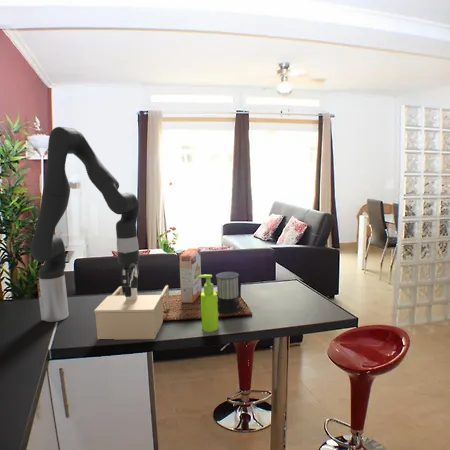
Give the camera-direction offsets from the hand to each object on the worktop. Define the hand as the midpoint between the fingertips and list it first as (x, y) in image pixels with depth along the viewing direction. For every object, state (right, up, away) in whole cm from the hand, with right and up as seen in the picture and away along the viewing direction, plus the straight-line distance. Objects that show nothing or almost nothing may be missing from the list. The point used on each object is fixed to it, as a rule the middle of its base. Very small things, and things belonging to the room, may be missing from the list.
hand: (131, 292), depth 144 cm
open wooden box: (0, -13, +6) cm, 14 cm away
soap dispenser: (+28, -13, -1) cm, 31 cm away
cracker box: (+20, -8, +31) cm, 37 cm away
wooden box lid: (0, -4, -2) cm, 5 cm away
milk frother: (+33, -10, +19) cm, 39 cm away
